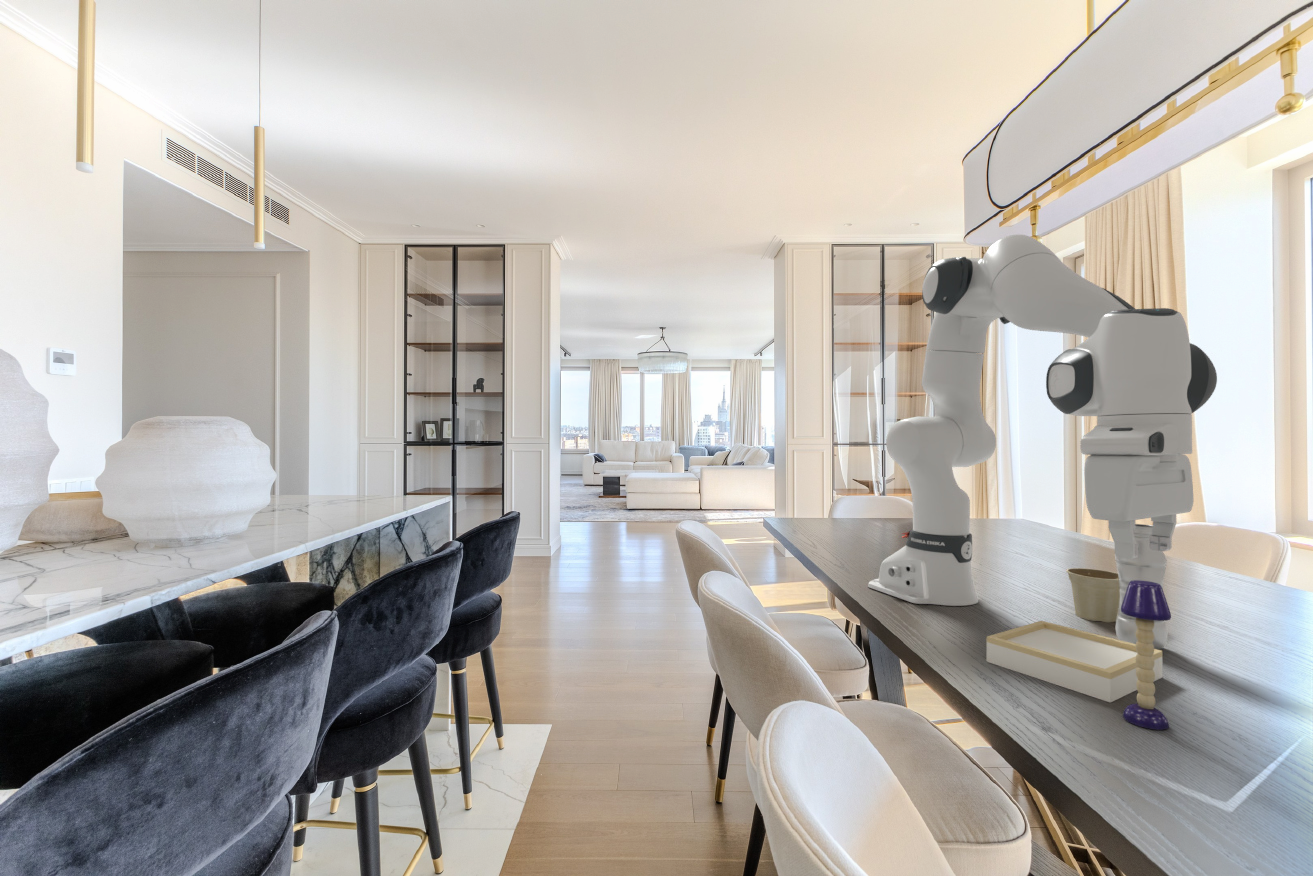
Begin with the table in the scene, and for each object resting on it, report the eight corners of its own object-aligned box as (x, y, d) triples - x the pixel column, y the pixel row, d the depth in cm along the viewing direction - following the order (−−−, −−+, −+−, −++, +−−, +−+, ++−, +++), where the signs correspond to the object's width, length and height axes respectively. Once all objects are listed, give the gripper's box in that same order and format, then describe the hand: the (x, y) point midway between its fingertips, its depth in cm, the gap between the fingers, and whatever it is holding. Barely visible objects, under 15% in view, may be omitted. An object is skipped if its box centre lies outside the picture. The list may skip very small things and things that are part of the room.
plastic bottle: (1178, 656, 91) (1178, 529, 91) (1128, 653, 92) (1129, 527, 93) (1152, 642, 97) (1152, 523, 98) (1106, 639, 99) (1106, 522, 99)
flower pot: (1131, 619, 110) (1131, 573, 110) (1123, 630, 104) (1124, 581, 104) (1071, 608, 117) (1071, 565, 117) (1061, 618, 111) (1061, 573, 111)
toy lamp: (1111, 710, 73) (1111, 577, 73) (1151, 712, 72) (1151, 578, 72) (1139, 729, 68) (1139, 586, 68) (1182, 732, 67) (1182, 588, 67)
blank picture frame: (986, 661, 89) (986, 636, 89) (1041, 643, 97) (1041, 620, 97) (1110, 702, 75) (1110, 673, 75) (1162, 677, 83) (1162, 650, 83)
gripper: (1147, 440, 78) (1148, 543, 78) (1072, 439, 68) (1073, 557, 68) (1209, 440, 73) (1210, 550, 73) (1138, 438, 63) (1139, 567, 62)
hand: (1143, 554), depth 70 cm, fingers open, 8 cm apart
